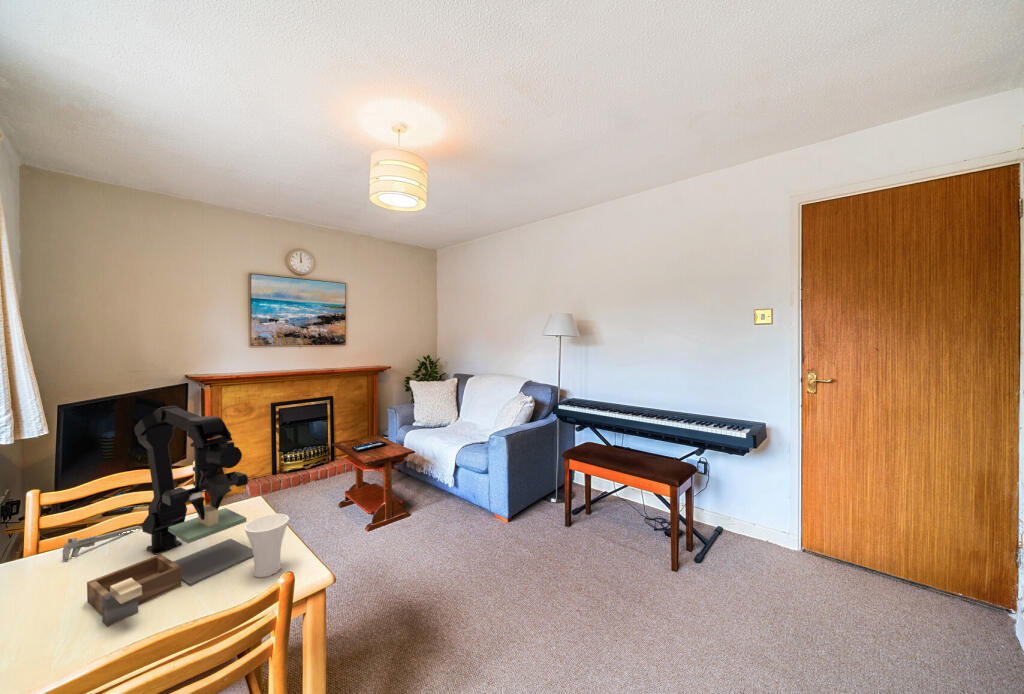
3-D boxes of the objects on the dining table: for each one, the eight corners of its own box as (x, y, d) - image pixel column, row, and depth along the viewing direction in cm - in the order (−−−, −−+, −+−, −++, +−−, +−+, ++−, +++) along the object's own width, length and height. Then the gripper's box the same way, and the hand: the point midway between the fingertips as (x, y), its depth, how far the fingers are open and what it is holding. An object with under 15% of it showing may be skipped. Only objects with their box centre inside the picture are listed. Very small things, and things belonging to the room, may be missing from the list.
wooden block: (110, 594, 88) (110, 586, 88) (131, 586, 91) (131, 577, 91) (120, 603, 85) (120, 594, 85) (142, 594, 88) (141, 585, 88)
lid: (168, 531, 108) (168, 512, 108) (225, 511, 120) (225, 495, 120) (188, 543, 102) (187, 524, 102) (246, 521, 114) (246, 504, 114)
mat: (162, 568, 108) (162, 565, 108) (230, 540, 123) (230, 538, 123) (189, 586, 101) (189, 584, 101) (259, 554, 116) (259, 552, 116)
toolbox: (83, 603, 94) (83, 578, 94) (161, 572, 107) (160, 550, 106) (107, 626, 87) (106, 599, 86) (187, 589, 99) (186, 566, 99)
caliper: (65, 563, 111) (65, 541, 111) (62, 562, 111) (62, 540, 111) (143, 528, 131) (143, 509, 131) (141, 528, 131) (140, 509, 131)
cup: (240, 571, 107) (239, 522, 107) (282, 555, 115) (282, 510, 115) (250, 587, 100) (250, 536, 100) (295, 570, 108) (294, 521, 108)
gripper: (179, 478, 98) (180, 539, 99) (258, 458, 115) (258, 511, 115) (160, 470, 104) (161, 528, 104) (238, 452, 120) (238, 503, 121)
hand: (208, 517), depth 111 cm, fingers closed on lid, 2 cm apart
